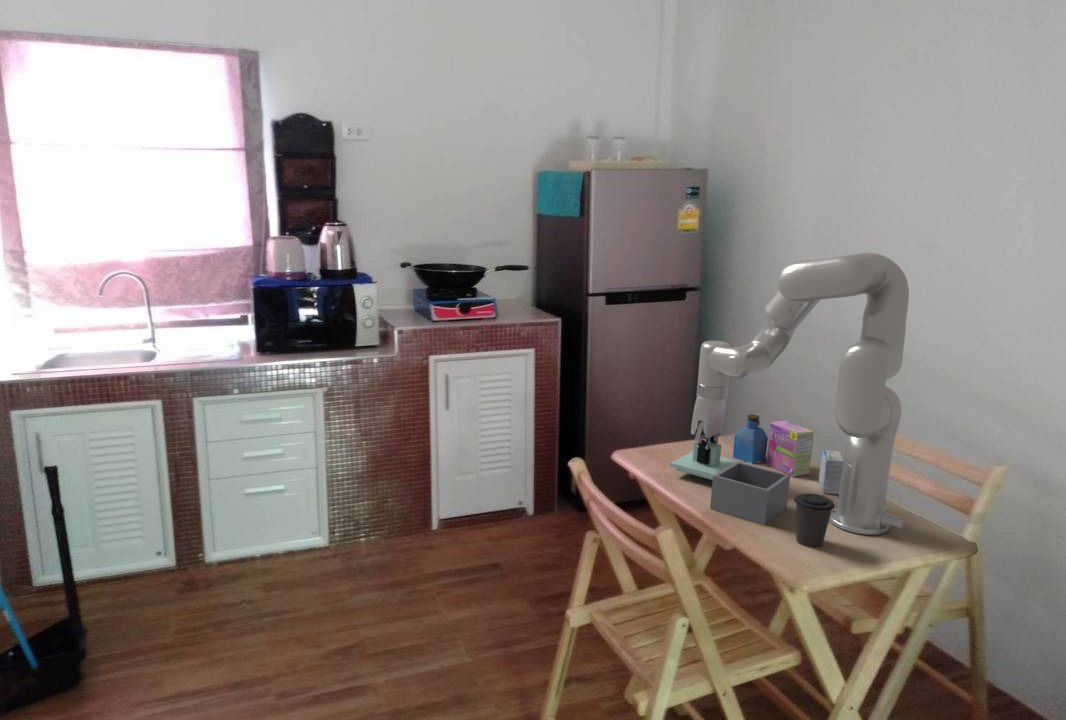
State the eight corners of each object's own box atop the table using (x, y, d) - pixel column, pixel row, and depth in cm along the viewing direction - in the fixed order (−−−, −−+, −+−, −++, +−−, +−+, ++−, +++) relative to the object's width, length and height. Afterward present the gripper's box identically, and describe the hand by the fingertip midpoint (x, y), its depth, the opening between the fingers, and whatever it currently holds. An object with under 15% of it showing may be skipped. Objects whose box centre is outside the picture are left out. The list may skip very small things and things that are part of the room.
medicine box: (841, 495, 198) (845, 461, 196) (822, 493, 199) (826, 459, 197) (836, 484, 205) (840, 451, 204) (817, 482, 206) (821, 449, 204)
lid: (740, 469, 208) (743, 443, 206) (718, 483, 198) (720, 456, 196) (693, 457, 216) (695, 432, 214) (669, 470, 205) (671, 443, 204)
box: (765, 464, 218) (769, 421, 215) (781, 461, 220) (786, 419, 218) (792, 477, 209) (797, 433, 206) (809, 475, 211) (815, 431, 208)
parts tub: (786, 507, 189) (790, 475, 187) (764, 525, 179) (768, 490, 177) (733, 492, 197) (737, 461, 195) (710, 508, 187) (713, 475, 185)
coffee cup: (782, 540, 172) (787, 496, 169) (800, 530, 177) (806, 486, 175) (818, 554, 166) (824, 508, 164) (836, 542, 172) (842, 498, 169)
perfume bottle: (746, 453, 226) (750, 411, 223) (765, 459, 221) (770, 417, 219) (732, 457, 222) (737, 415, 219) (751, 464, 217) (756, 421, 215)
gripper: (712, 382, 211) (706, 450, 215) (683, 394, 198) (677, 465, 202) (740, 387, 206) (733, 456, 210) (711, 400, 194) (705, 473, 198)
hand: (706, 460), depth 206 cm, fingers closed on lid, 2 cm apart
